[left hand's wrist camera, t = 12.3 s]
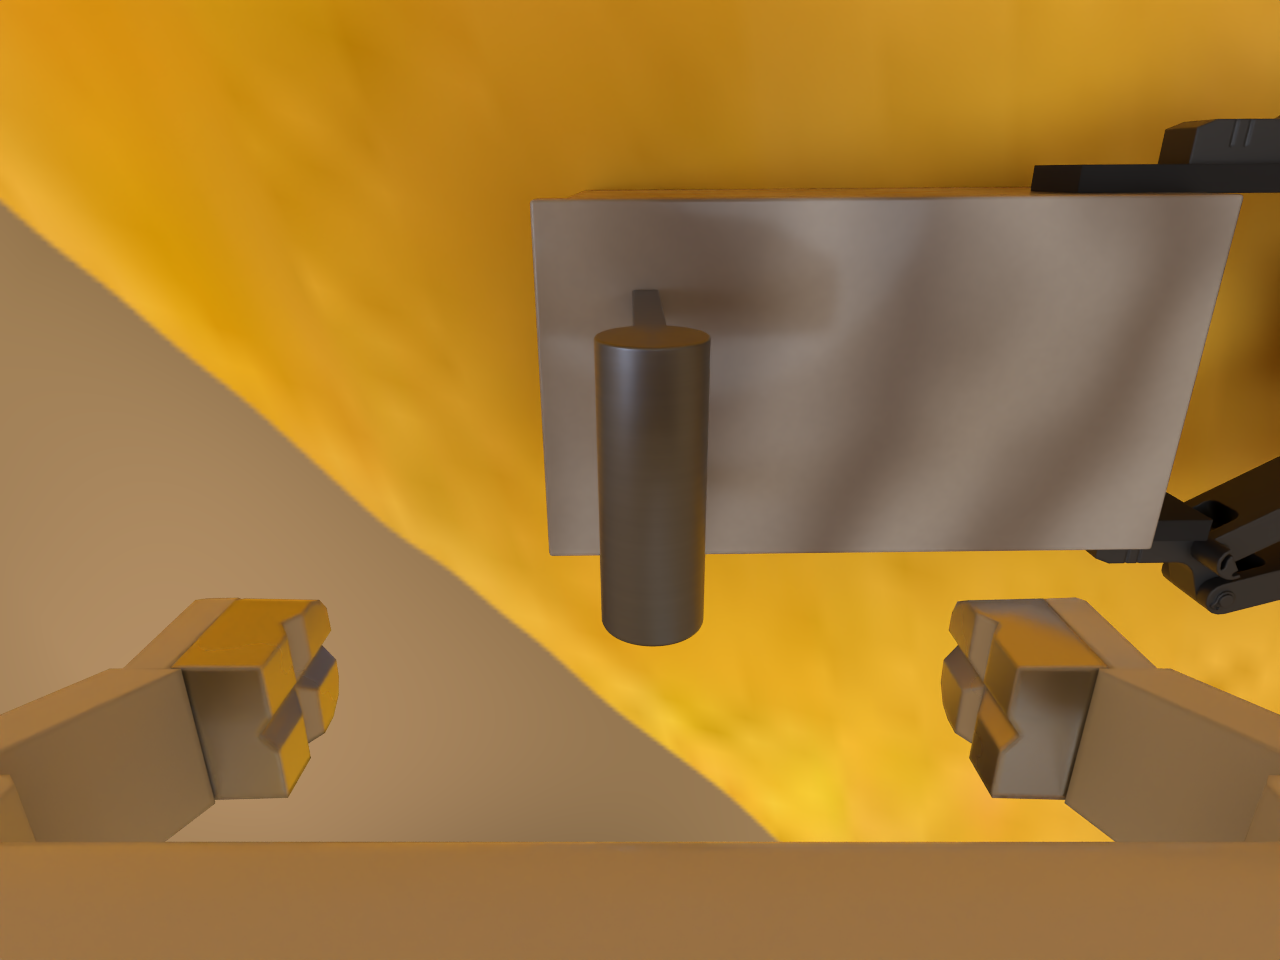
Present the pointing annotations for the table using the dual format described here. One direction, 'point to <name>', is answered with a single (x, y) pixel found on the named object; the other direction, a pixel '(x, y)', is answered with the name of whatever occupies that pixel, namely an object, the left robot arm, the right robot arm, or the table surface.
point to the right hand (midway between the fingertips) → (1022, 361)
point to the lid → (860, 377)
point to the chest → (824, 192)
